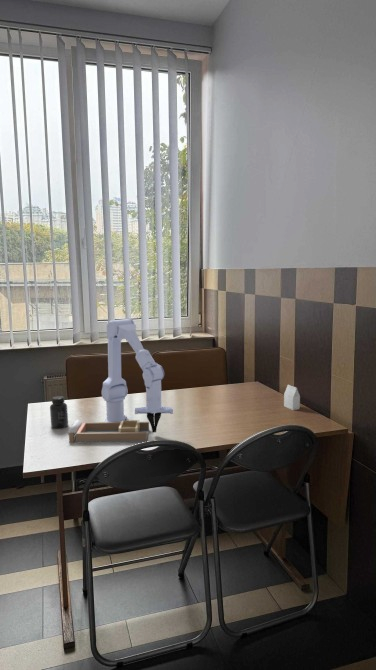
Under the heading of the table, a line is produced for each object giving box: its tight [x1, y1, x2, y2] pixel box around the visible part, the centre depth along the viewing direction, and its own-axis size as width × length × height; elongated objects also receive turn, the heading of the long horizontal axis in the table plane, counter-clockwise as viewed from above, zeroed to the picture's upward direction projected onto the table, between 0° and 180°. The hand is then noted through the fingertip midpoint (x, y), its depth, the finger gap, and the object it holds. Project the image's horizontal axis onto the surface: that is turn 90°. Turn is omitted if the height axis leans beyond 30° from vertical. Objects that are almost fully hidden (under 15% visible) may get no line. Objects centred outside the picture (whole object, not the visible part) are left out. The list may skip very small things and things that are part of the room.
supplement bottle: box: [49, 395, 69, 429], centre depth 196 cm, size 7×7×12 cm
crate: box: [119, 419, 141, 432], centre depth 184 cm, size 9×7×4 cm
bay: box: [67, 419, 150, 444], centre depth 184 cm, size 13×29×5 cm, turn 90°
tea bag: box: [283, 384, 301, 411], centre depth 218 cm, size 4×7×10 cm, turn 24°
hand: (154, 431), depth 184 cm, fingers closed
